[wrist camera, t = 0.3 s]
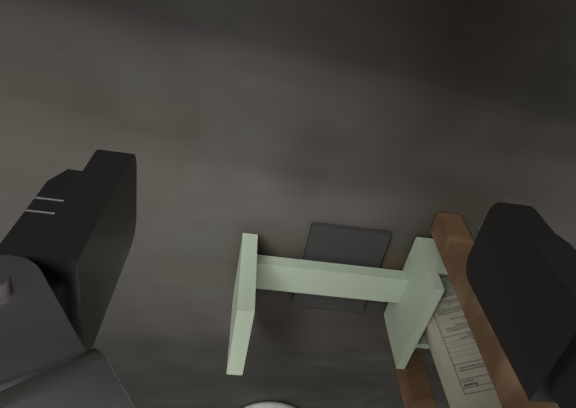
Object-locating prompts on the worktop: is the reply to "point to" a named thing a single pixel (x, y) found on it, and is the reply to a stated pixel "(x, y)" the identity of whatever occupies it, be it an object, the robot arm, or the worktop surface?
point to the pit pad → (342, 259)
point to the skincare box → (458, 355)
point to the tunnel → (454, 254)
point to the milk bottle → (269, 405)
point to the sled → (341, 293)
